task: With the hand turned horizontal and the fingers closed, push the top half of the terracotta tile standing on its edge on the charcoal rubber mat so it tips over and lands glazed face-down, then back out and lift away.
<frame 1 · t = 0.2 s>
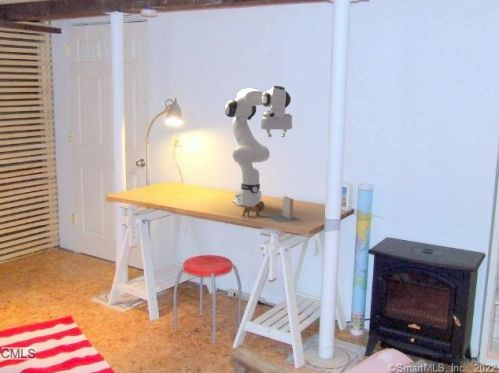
hand: (276, 136, 328), 48 cm above the table, tool pointing down, fingers open, 8 cm apart
rubber mat: (283, 218, 326), on the table
lion figurine: (253, 216, 331), on the table
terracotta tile: (287, 217, 327), resting on rubber mat
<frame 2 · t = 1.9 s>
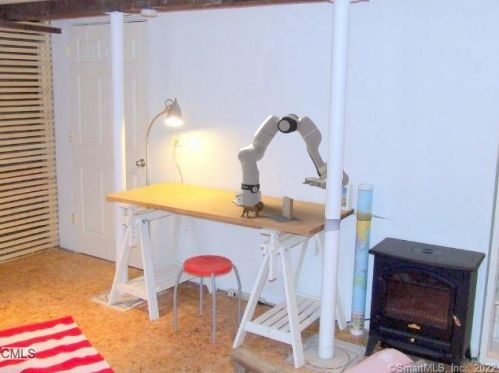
hand: (306, 183, 330), 20 cm above the table, tool horizontal, fingers open, 6 cm apart
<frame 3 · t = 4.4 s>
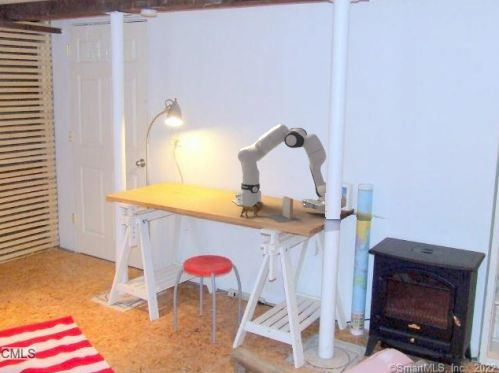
hand: (304, 205, 332), 6 cm above the table, tool horizontal, fingers closed
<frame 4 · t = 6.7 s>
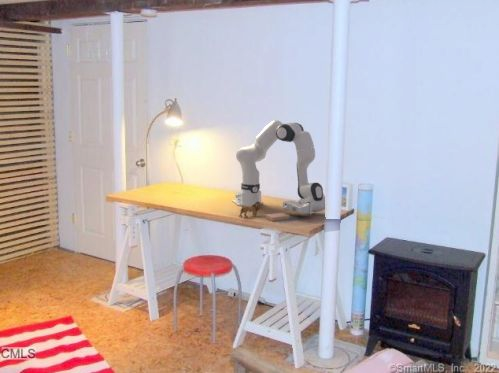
hand: (284, 208, 325), 6 cm above the table, tool horizontal, fingers closed
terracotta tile: (285, 215, 326), point 2 cm above the table, tilted 90°, touching rubber mat
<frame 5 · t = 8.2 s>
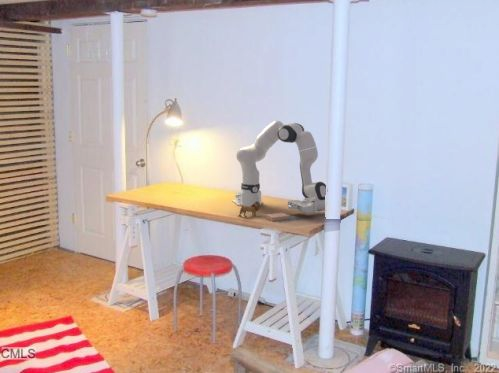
hand: (289, 207, 326), 7 cm above the table, tool horizontal, fingers closed
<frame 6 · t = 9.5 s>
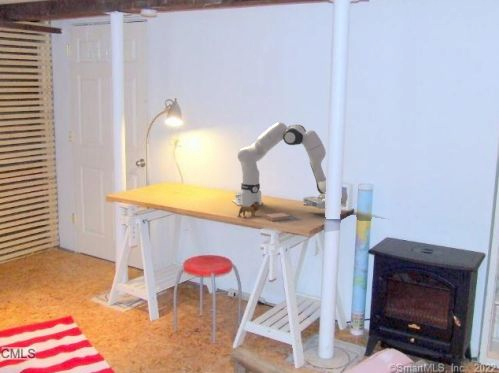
hand: (304, 204, 333), 7 cm above the table, tool horizontal, fingers closed
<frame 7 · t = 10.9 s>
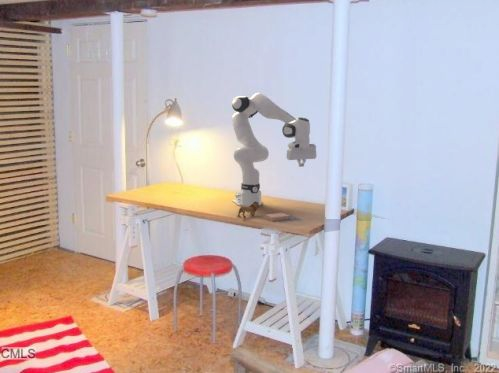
hand: (301, 166, 339), 29 cm above the table, tool pointing down, fingers closed
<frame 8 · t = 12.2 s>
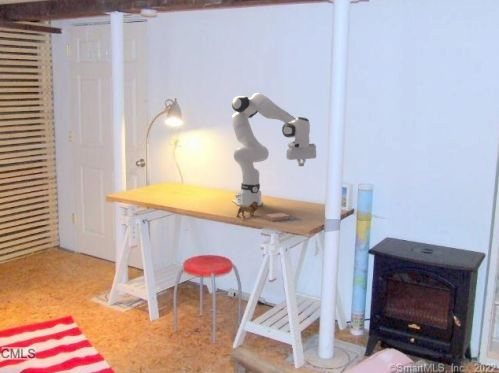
hand: (301, 166, 339), 29 cm above the table, tool pointing down, fingers closed
at the end: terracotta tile tilted 90°; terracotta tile inside the target area on the rubber mat (2.1 cm from its centre), point 1.6 cm above the rubber mat's base; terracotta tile touching rubber mat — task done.
